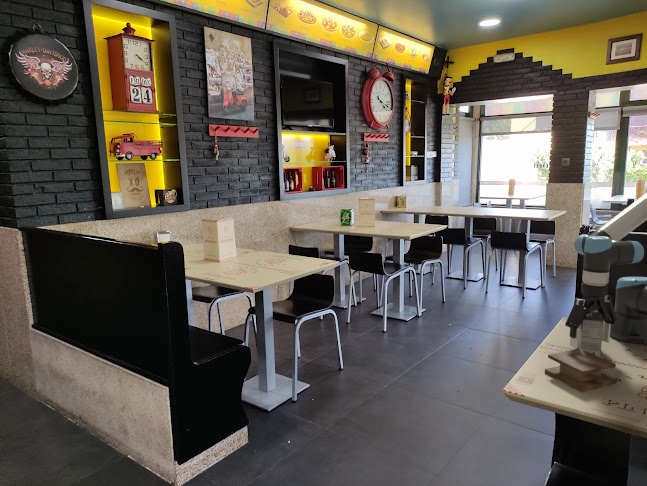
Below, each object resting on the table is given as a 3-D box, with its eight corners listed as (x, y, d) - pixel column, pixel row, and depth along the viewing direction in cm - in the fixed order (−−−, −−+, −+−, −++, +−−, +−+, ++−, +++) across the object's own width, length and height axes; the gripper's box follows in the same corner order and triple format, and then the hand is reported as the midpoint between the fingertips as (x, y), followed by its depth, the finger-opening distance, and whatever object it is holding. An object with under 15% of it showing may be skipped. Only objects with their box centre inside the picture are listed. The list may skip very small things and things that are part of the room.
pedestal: (578, 365, 152) (579, 347, 151) (616, 383, 139) (618, 364, 138) (544, 372, 148) (545, 354, 147) (581, 392, 135) (582, 372, 134)
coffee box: (578, 353, 162) (581, 309, 159) (599, 356, 159) (602, 311, 156) (578, 363, 154) (581, 317, 151) (600, 366, 151) (604, 320, 148)
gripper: (612, 277, 159) (607, 335, 163) (556, 284, 151) (551, 345, 155) (633, 282, 152) (627, 342, 156) (575, 289, 144) (570, 353, 148)
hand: (589, 344), depth 155 cm, fingers open, 13 cm apart
